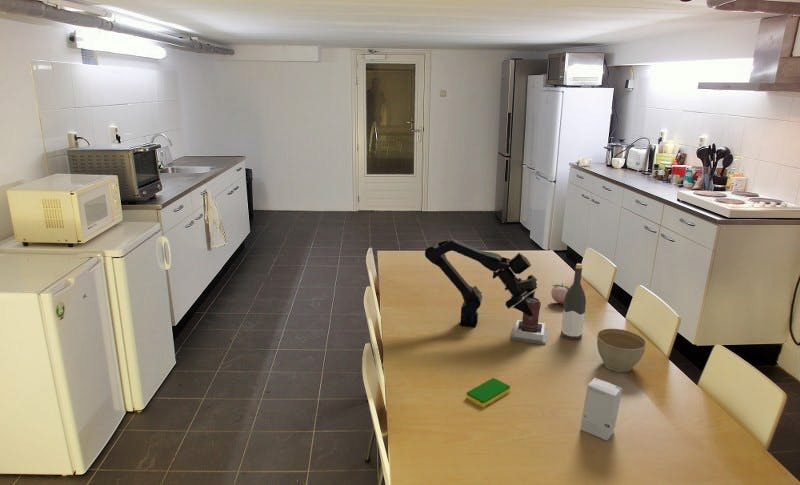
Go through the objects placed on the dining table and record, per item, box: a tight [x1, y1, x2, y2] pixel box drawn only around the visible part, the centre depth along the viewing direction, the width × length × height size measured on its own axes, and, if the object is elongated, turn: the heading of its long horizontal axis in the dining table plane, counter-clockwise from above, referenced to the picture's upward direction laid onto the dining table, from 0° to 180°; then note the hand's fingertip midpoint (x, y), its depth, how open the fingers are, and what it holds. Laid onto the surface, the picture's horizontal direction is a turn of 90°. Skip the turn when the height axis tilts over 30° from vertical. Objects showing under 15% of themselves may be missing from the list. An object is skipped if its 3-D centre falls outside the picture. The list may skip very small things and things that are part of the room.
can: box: [521, 297, 542, 333], centre depth 212 cm, size 6×6×14 cm
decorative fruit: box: [550, 283, 571, 305], centre depth 243 cm, size 9×8×10 cm
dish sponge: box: [465, 377, 511, 408], centre depth 172 cm, size 7×14×2 cm, turn 132°
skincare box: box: [579, 377, 623, 441], centre depth 153 cm, size 8×6×15 cm
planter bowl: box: [596, 328, 647, 373], centre depth 189 cm, size 16×16×11 cm
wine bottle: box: [560, 263, 587, 341], centre depth 210 cm, size 8×8×30 cm
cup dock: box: [510, 319, 548, 346], centre depth 213 cm, size 13×13×4 cm
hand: (534, 313), depth 210 cm, fingers closed on can, 5 cm apart
